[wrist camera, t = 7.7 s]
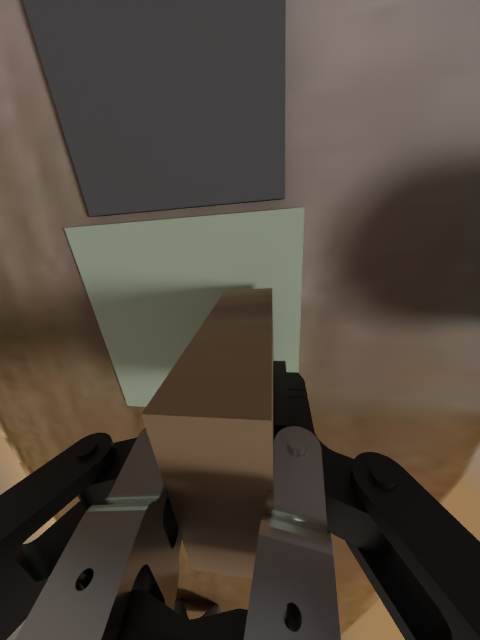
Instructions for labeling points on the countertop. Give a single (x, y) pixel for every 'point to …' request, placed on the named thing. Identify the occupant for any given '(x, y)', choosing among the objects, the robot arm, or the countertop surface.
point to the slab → (219, 433)
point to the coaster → (167, 99)
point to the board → (185, 285)
